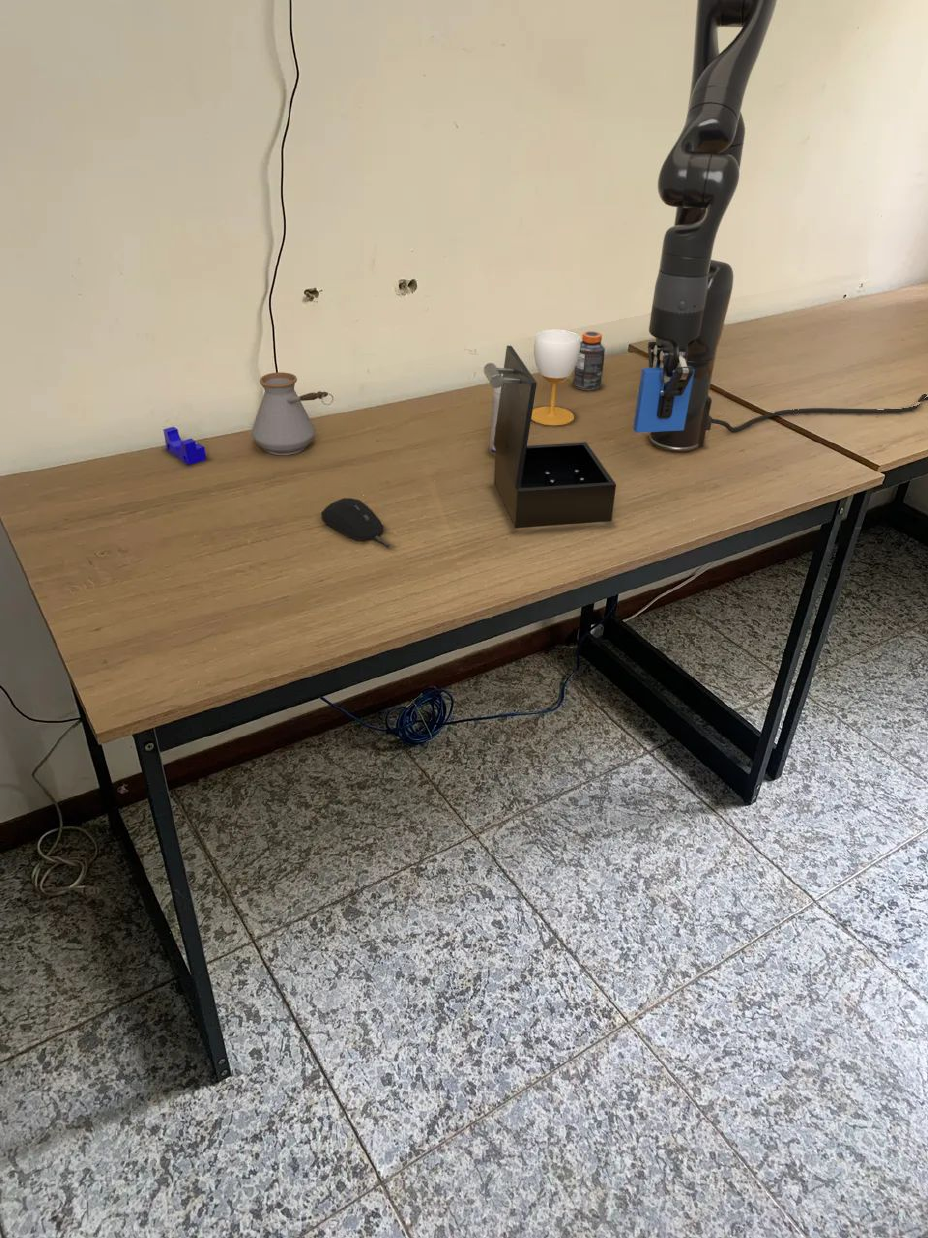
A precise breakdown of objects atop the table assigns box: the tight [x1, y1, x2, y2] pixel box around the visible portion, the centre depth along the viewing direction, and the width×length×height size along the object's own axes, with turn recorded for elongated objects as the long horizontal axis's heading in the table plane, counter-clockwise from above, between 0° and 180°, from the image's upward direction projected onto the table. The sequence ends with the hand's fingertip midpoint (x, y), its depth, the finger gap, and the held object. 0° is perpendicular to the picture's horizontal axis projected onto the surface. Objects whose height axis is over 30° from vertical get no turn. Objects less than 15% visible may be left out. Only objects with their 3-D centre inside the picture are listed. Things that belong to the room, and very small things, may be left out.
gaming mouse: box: [321, 497, 391, 548], centre depth 141 cm, size 6×15×4 cm, turn 44°
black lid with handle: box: [483, 345, 538, 488], centre depth 139 cm, size 17×16×5 cm
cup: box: [531, 329, 581, 427], centre depth 176 cm, size 9×9×16 cm
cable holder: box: [162, 426, 207, 466], centre depth 162 cm, size 8×4×4 cm, turn 42°
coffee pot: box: [251, 371, 334, 456], centre depth 159 cm, size 21×12×15 cm, turn 41°
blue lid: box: [632, 366, 694, 434], centre depth 142 cm, size 8×2×10 cm, turn 101°
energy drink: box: [489, 386, 501, 454], centre depth 163 cm, size 5×5×12 cm
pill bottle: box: [573, 330, 606, 391], centre depth 191 cm, size 6×6×11 cm
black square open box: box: [493, 441, 617, 529], centre depth 148 cm, size 16×16×7 cm
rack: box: [544, 470, 584, 487], centre depth 149 cm, size 6×4×4 cm, turn 101°
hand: (660, 414), depth 143 cm, fingers closed on blue lid, 1 cm apart
